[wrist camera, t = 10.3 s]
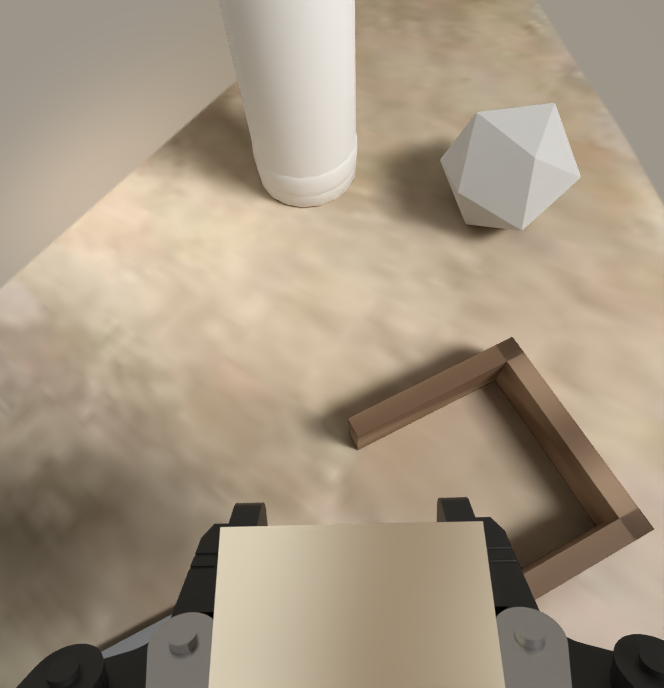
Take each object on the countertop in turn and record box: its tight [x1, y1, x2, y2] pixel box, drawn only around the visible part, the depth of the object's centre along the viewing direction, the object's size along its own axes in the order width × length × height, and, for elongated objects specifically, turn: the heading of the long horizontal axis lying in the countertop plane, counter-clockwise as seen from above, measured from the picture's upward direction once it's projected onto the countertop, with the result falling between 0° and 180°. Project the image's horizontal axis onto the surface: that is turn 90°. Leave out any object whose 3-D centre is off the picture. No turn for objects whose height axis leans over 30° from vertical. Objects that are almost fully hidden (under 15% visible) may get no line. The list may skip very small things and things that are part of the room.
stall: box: [348, 337, 654, 600], centre depth 30 cm, size 12×11×3 cm
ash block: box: [208, 521, 505, 688], centre depth 12 cm, size 4×4×9 cm
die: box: [440, 103, 581, 231], centre depth 37 cm, size 8×9×10 cm
